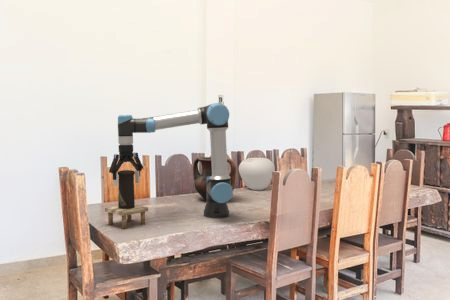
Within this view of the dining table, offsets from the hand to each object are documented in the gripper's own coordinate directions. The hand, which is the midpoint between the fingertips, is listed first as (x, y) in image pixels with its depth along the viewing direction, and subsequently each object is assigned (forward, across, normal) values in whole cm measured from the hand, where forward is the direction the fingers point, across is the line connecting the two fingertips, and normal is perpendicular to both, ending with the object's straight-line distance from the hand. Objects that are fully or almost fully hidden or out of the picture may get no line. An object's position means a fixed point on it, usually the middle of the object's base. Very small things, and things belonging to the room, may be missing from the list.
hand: (127, 184), depth 232 cm
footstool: (+21, +1, 0) cm, 21 cm away
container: (+13, 0, 0) cm, 13 cm away
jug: (+23, -80, -12) cm, 84 cm away
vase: (+23, -136, -18) cm, 139 cm away
